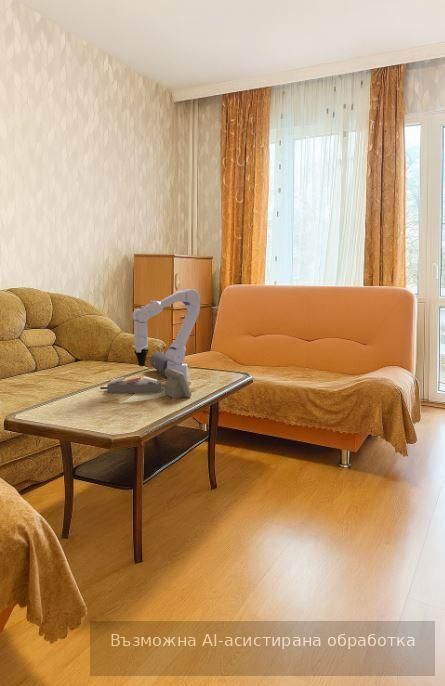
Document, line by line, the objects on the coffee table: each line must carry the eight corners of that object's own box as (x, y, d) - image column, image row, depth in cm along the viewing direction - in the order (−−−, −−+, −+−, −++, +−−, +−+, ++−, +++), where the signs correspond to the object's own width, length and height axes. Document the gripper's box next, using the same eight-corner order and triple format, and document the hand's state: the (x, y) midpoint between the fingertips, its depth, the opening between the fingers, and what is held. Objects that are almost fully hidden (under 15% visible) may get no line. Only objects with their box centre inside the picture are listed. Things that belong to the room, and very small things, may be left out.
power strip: (161, 388, 230) (161, 379, 230) (158, 392, 222) (158, 383, 222) (102, 388, 231) (102, 379, 230) (98, 392, 223) (98, 383, 222)
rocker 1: (125, 378, 226) (124, 376, 225) (124, 379, 223) (123, 377, 223) (112, 382, 226) (111, 379, 226) (110, 383, 223) (109, 381, 223)
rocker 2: (141, 378, 225) (140, 376, 225) (140, 379, 223) (139, 377, 223) (128, 382, 226) (127, 379, 226) (126, 383, 223) (126, 381, 223)
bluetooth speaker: (148, 370, 270) (148, 351, 269) (166, 369, 274) (165, 350, 273) (161, 379, 250) (160, 358, 248) (179, 377, 253) (179, 357, 252)
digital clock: (192, 398, 212) (192, 373, 211) (171, 400, 209) (170, 374, 208) (182, 389, 227) (182, 366, 226) (162, 391, 224) (161, 367, 223)
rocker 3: (157, 381, 226) (157, 379, 225) (156, 383, 223) (157, 380, 223) (143, 378, 225) (144, 376, 225) (142, 379, 223) (143, 377, 223)
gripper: (135, 333, 238) (136, 363, 240) (128, 338, 224) (130, 369, 226) (150, 333, 238) (151, 362, 240) (145, 337, 224) (146, 368, 226)
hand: (142, 365), depth 233 cm, fingers closed
